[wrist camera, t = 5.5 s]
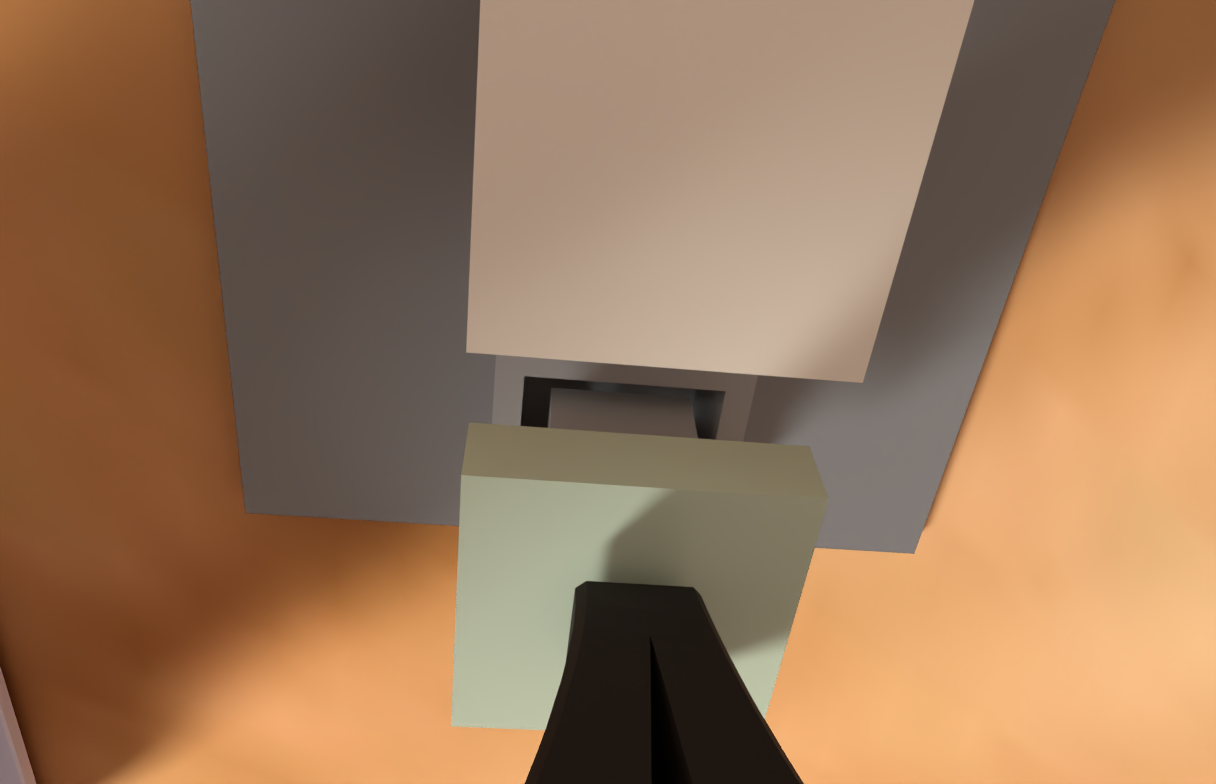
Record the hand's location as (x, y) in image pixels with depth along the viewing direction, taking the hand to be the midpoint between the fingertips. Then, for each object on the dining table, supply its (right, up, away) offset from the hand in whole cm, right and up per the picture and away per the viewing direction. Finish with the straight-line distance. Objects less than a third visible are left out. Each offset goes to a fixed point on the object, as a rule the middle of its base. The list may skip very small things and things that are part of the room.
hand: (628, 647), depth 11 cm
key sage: (0, +2, +3) cm, 4 cm away
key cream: (0, +7, 0) cm, 7 cm away
